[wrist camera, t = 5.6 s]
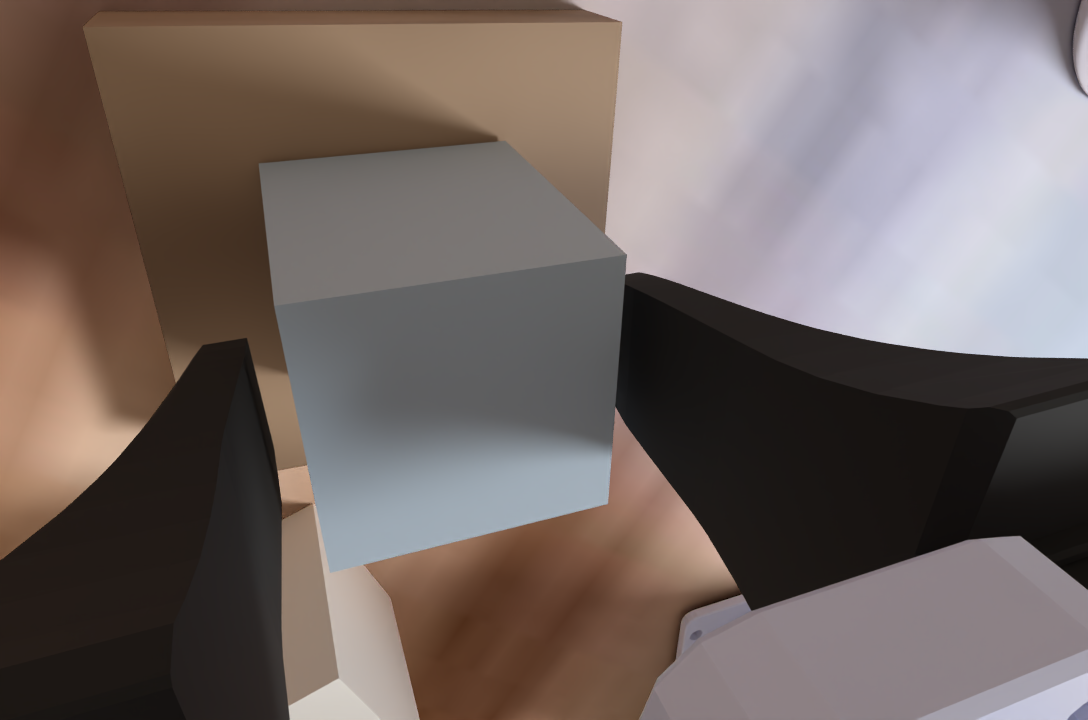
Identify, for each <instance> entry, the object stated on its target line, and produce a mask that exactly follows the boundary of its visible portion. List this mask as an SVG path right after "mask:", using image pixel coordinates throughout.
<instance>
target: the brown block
mask: <svg viewBox="0 0 1088 720" xmlns="http://www.w3.org/2000/svg"><path fill="white" fill-rule="evenodd" d="M83 31H84V35H85V39H86V43H87V46H88V50H89V54H90V58H91V62H92V65H93V69H94V73H95V77H96V81H97V84H98V88H99V92H100V96H101V100H102V104H103V107H104V111H105V115H106V119H107V123H108V126H109V130H110V134H111V138H112V142H113V146H114V149H115V153H116V157H117V161H118V165H119V168H120V172H121V176H122V180H123V184H124V187H125V191H126V195H127V199H128V203H129V207H130V210H131V214H132V218H133V222H134V226H135V229H136V233H137V237H138V241H139V245H140V249H141V252H142V256H143V260H144V264H145V268H146V271H147V275H148V279H149V283H150V287H151V290H152V294H153V298H154V302H155V306H156V310H157V313H158V317H159V321H160V325H161V329H162V332H163V336H164V340H165V344H166V348H167V352H168V355H169V359H170V363H171V367H172V371H173V374H174V378H175V382H177V381H178V380H179V378H180V377H181V375H182V374H183V372H184V371H185V369H186V368H187V366H188V365H189V363H190V362H191V360H192V359H193V357H194V356H195V354H196V353H197V352H198V350H199V349H200V348H201V347H202V345H206V344H212V343H218V342H224V341H230V340H236V339H242V338H247V340H248V344H249V348H250V352H251V356H252V360H253V364H254V368H255V372H256V376H257V380H258V384H259V388H260V392H261V397H262V401H263V405H264V409H265V413H266V417H267V421H268V425H269V429H270V433H271V437H272V441H273V445H274V450H275V457H276V464H277V471H278V470H284V469H289V468H294V467H300V466H305V465H307V461H306V456H305V451H304V446H303V442H302V437H301V432H300V427H299V422H298V418H297V413H296V408H295V403H294V398H293V394H292V389H291V384H290V379H289V375H288V370H287V365H286V360H285V355H284V351H283V346H282V341H281V336H280V332H279V327H278V322H277V317H276V312H275V308H274V300H273V291H272V282H271V273H270V263H269V254H268V245H267V236H266V227H265V218H264V208H263V199H262V190H261V181H260V172H259V163H269V162H280V161H291V160H302V159H313V158H323V157H334V156H345V155H356V154H367V153H378V152H389V151H400V150H410V149H421V148H432V147H443V146H454V145H465V144H476V143H487V142H497V141H506V142H507V143H508V144H509V145H510V146H511V147H512V148H514V149H515V150H516V151H517V152H518V153H519V154H520V155H521V156H522V157H523V158H524V159H525V160H526V161H527V162H528V163H530V164H531V165H532V166H533V167H534V168H535V169H536V170H537V171H538V172H539V173H540V174H541V175H542V176H543V177H544V178H546V179H547V180H548V181H549V182H550V183H551V184H552V185H553V186H554V187H555V188H556V189H557V190H558V191H559V192H560V193H562V194H563V195H564V196H565V197H566V198H567V199H568V200H569V201H570V202H571V203H572V204H573V205H574V206H575V207H576V208H578V209H579V210H580V211H581V212H582V213H583V214H584V215H585V216H586V217H587V218H588V219H589V220H590V221H591V222H592V223H593V224H595V225H596V226H597V227H598V228H599V229H600V230H601V231H602V232H603V233H604V234H605V225H606V212H607V200H608V188H609V176H610V164H611V152H612V140H613V128H614V116H615V104H616V92H617V80H618V67H619V55H620V43H621V31H622V22H620V21H617V20H614V19H611V18H608V17H605V16H602V15H599V14H595V13H592V12H589V11H586V10H371V11H99V12H98V13H97V14H96V15H95V16H94V17H93V18H91V19H90V20H89V21H88V22H87V23H86V24H85V25H84V26H83Z"/></svg>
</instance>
